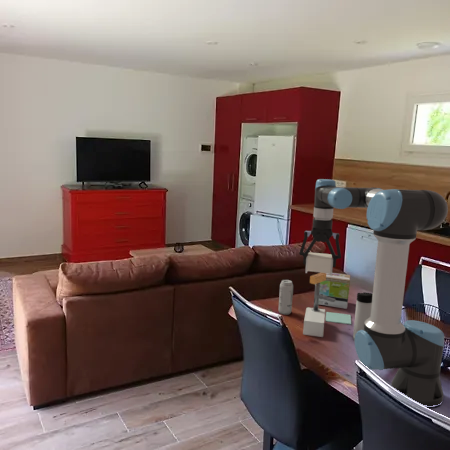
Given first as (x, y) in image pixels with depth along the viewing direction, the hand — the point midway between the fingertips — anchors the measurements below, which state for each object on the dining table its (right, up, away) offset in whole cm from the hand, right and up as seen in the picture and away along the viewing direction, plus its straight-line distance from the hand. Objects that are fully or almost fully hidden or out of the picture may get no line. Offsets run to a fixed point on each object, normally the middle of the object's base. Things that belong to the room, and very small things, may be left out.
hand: (318, 273), depth 181 cm
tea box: (+15, -20, +40) cm, 47 cm away
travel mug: (+17, -27, -1) cm, 32 cm away
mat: (+13, -23, +21) cm, 34 cm away
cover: (0, +1, 0) cm, 2 cm away
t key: (+4, -18, +11) cm, 21 cm away
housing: (0, -24, +9) cm, 26 cm away
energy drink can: (-10, -21, +26) cm, 35 cm away
